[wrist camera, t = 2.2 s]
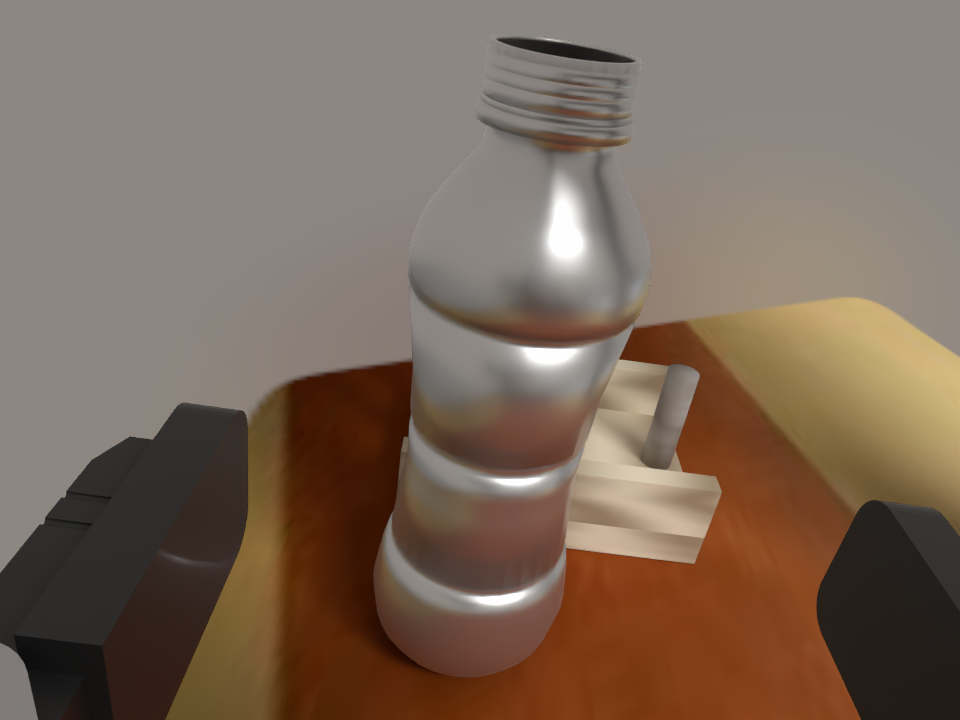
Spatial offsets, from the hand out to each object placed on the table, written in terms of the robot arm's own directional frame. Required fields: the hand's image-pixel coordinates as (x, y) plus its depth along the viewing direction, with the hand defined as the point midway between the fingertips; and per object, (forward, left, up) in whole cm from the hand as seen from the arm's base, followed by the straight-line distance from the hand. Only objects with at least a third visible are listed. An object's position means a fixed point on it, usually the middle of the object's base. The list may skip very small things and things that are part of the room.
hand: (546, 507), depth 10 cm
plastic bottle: (-2, -11, -16) cm, 20 cm away
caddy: (-7, -20, -16) cm, 27 cm away
